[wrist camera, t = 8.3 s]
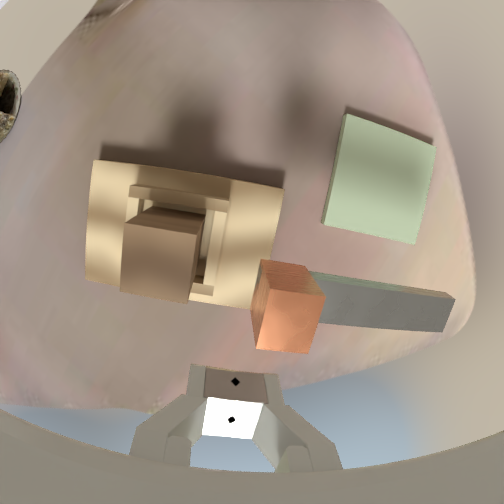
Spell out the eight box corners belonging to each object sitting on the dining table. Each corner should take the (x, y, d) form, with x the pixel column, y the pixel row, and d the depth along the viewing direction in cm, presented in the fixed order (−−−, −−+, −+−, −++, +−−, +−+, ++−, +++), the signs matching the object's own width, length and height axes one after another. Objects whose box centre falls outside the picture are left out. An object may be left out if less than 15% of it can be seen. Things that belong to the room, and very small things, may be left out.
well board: (99, 159, 27) (84, 160, 24) (282, 188, 29) (288, 191, 26) (90, 274, 30) (77, 286, 27) (256, 303, 32) (260, 320, 29)
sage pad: (343, 114, 27) (347, 113, 26) (431, 147, 29) (436, 147, 28) (320, 222, 30) (323, 224, 29) (410, 242, 32) (414, 244, 31)
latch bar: (260, 258, 20) (270, 288, 16) (446, 288, 22) (482, 314, 17) (250, 308, 21) (255, 348, 17) (431, 327, 23) (463, 357, 18)
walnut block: (152, 205, 27) (124, 222, 20) (205, 214, 28) (196, 235, 20) (146, 258, 29) (119, 291, 21) (197, 266, 29) (187, 304, 21)
